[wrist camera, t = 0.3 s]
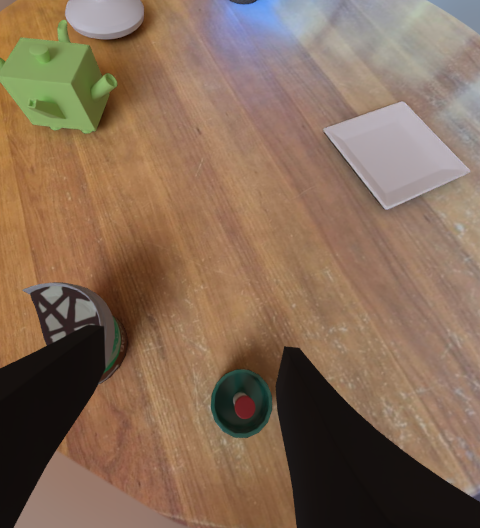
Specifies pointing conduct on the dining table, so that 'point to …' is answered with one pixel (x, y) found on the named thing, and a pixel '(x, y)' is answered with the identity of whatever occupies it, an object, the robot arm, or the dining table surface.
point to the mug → (243, 1)
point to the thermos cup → (226, 409)
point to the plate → (395, 154)
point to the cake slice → (78, 318)
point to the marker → (243, 405)
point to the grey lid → (105, 17)
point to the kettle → (57, 82)
